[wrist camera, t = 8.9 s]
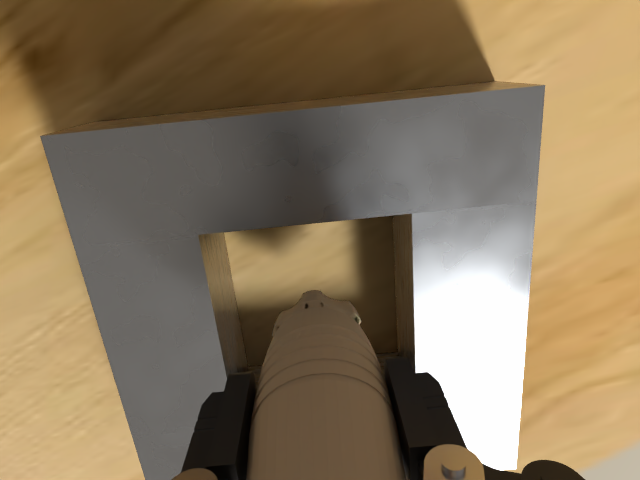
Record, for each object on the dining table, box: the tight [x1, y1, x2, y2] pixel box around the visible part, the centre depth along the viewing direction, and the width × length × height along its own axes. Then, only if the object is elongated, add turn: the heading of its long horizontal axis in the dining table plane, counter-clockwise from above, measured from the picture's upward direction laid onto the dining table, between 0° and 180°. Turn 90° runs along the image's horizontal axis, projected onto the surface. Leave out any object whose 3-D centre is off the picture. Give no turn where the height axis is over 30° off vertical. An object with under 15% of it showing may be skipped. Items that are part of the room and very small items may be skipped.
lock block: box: [40, 81, 545, 480], centre depth 19 cm, size 16×16×4 cm
